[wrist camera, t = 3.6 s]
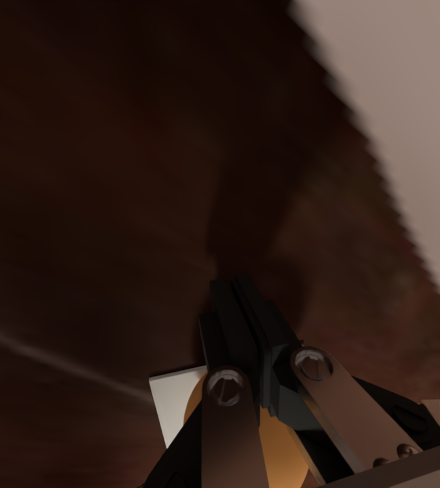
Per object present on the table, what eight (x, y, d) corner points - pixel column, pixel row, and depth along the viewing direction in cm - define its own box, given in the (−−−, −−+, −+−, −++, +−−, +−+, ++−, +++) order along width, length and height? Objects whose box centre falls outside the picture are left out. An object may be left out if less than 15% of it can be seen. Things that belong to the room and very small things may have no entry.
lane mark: (284, 487, 23) (285, 490, 22) (186, 518, 21) (186, 522, 21) (302, 343, 15) (303, 346, 15) (149, 377, 13) (148, 381, 13)
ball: (275, 392, 16) (330, 518, 11) (185, 415, 15) (197, 566, 10) (280, 323, 14) (354, 444, 9) (171, 345, 13) (179, 498, 8)
